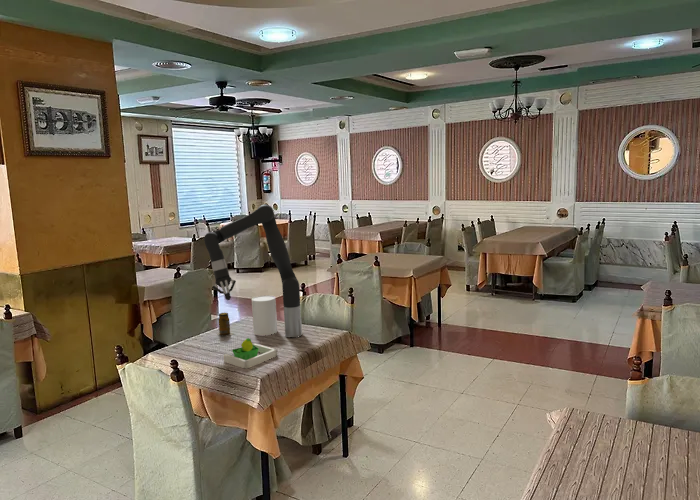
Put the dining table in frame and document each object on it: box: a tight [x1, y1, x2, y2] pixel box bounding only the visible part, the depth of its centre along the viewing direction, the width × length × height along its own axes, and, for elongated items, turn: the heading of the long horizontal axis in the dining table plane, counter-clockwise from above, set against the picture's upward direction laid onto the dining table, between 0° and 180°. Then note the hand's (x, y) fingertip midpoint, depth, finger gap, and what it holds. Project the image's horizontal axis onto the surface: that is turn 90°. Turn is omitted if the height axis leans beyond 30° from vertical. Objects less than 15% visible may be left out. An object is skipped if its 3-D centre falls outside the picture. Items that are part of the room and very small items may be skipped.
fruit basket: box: [231, 337, 259, 360], centre depth 246 cm, size 11×9×11 cm
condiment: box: [216, 312, 234, 338], centre depth 288 cm, size 7×8×12 cm
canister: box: [251, 294, 278, 337], centre depth 288 cm, size 14×14×20 cm
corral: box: [223, 343, 279, 370], centre depth 247 cm, size 16×20×4 cm
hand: (228, 300), depth 268 cm, fingers closed
